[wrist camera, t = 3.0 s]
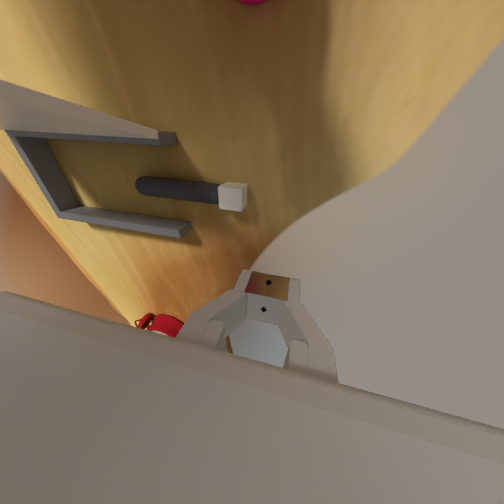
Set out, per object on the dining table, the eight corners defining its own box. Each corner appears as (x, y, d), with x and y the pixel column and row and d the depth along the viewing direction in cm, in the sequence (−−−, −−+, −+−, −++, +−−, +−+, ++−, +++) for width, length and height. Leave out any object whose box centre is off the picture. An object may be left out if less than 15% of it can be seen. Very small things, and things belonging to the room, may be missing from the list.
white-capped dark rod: (147, 192, 26) (133, 197, 24) (141, 173, 24) (126, 176, 22) (247, 204, 23) (241, 211, 21) (247, 184, 22) (241, 189, 20)
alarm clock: (190, 357, 45) (131, 355, 45) (197, 334, 50) (144, 332, 50) (184, 334, 39) (115, 331, 39) (192, 310, 45) (132, 308, 44)
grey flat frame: (30, 124, 24) (0, 123, 22) (174, 132, 21) (157, 132, 18) (77, 211, 31) (58, 217, 29) (191, 229, 28) (180, 238, 25)
